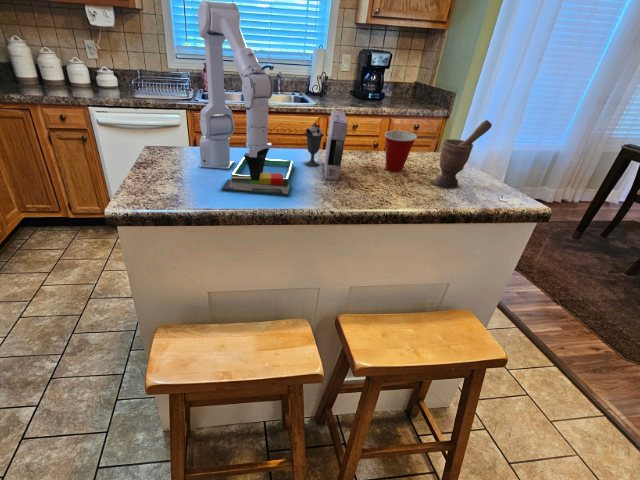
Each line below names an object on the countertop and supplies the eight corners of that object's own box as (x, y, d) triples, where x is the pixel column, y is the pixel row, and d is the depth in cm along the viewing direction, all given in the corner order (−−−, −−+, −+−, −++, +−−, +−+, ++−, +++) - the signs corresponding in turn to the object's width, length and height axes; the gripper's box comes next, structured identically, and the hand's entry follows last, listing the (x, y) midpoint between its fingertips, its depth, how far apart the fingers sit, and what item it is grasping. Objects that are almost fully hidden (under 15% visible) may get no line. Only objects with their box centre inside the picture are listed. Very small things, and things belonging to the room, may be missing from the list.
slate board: (221, 191, 109) (221, 188, 109) (228, 182, 116) (227, 179, 115) (287, 196, 108) (287, 193, 108) (290, 187, 115) (290, 184, 114)
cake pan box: (340, 182, 121) (348, 121, 111) (324, 181, 121) (331, 120, 111) (337, 164, 137) (344, 110, 126) (323, 163, 137) (329, 109, 127)
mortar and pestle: (461, 180, 129) (481, 116, 117) (473, 189, 122) (496, 121, 110) (428, 180, 128) (446, 114, 116) (439, 188, 121) (459, 120, 109)
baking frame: (231, 181, 117) (231, 174, 115) (243, 163, 133) (243, 157, 132) (287, 185, 116) (287, 179, 115) (292, 166, 132) (293, 161, 131)
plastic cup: (375, 171, 133) (382, 134, 126) (381, 163, 141) (387, 128, 134) (406, 176, 130) (415, 139, 123) (411, 168, 138) (419, 132, 131)
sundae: (321, 162, 138) (325, 117, 130) (320, 167, 133) (325, 121, 124) (303, 160, 139) (306, 115, 130) (302, 166, 133) (305, 119, 125)
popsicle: (283, 185, 109) (283, 178, 108) (230, 183, 108) (230, 177, 107) (282, 179, 113) (283, 173, 112) (232, 177, 113) (231, 171, 111)
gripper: (268, 132, 96) (267, 186, 104) (275, 121, 108) (273, 170, 116) (240, 130, 96) (241, 183, 104) (250, 119, 108) (250, 168, 116)
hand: (256, 176), depth 110 cm, fingers closed on popsicle, 6 cm apart
